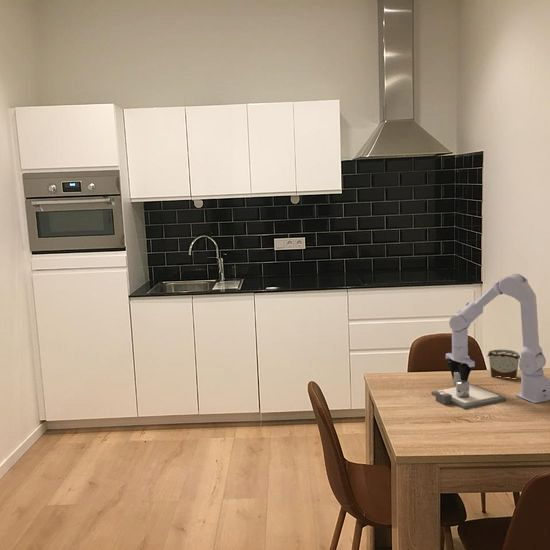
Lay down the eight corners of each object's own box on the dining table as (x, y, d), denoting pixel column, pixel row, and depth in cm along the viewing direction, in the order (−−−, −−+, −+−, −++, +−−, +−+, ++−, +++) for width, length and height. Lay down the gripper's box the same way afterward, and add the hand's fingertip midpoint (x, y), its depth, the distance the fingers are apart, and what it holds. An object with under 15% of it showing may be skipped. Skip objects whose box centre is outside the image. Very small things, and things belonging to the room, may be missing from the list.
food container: (523, 375, 245) (523, 351, 244) (520, 380, 240) (520, 354, 239) (491, 372, 252) (491, 348, 251) (487, 376, 247) (487, 351, 245)
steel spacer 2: (470, 394, 221) (470, 381, 220) (468, 398, 217) (468, 384, 216) (457, 393, 223) (457, 379, 222) (454, 397, 219) (454, 383, 219)
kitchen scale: (505, 400, 218) (505, 391, 218) (456, 410, 210) (456, 401, 210) (471, 386, 235) (471, 378, 234) (424, 395, 227) (424, 386, 227)
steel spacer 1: (468, 385, 237) (468, 372, 236) (459, 387, 235) (459, 374, 234) (459, 382, 241) (459, 369, 240) (451, 384, 239) (451, 371, 238)
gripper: (481, 348, 231) (481, 384, 232) (456, 340, 244) (456, 374, 246) (466, 351, 228) (466, 387, 230) (441, 343, 241) (441, 377, 243)
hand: (459, 380), depth 238 cm, fingers closed on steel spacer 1, 4 cm apart
